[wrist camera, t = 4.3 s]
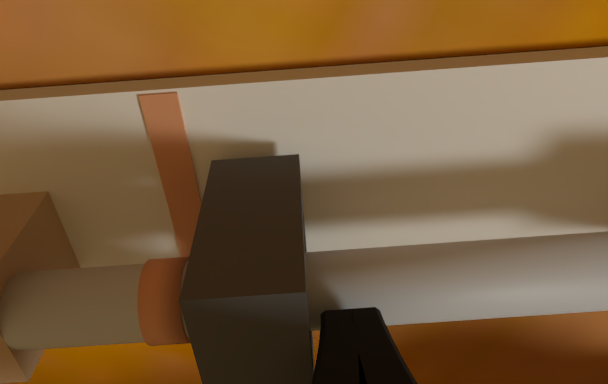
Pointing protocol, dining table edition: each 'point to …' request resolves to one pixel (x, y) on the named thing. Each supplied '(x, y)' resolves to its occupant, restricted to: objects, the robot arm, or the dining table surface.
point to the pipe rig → (309, 192)
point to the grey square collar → (250, 275)
